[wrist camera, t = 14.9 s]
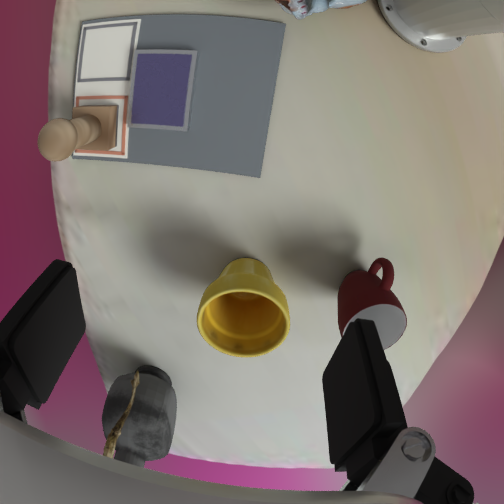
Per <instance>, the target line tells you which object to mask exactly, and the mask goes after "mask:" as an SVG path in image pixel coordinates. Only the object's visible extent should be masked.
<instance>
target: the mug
mask: <svg viewBox="0 0 504 504" xmlns="http://www.w3.org/2000/svg"><path fill="white" fill-rule="evenodd" d="M381 267H382V268H383V277H382V280H381V279H380V278H379V277H378V276H377V275H376V274H377V272H378V270H379V269H380V268H381ZM393 280H394V269H393V265H392V263H391V262H390V261H389V260H388V259H385V258H378V259H376V260H375V261H374V262H373V263H372V265H371V267H370V268H369V270H368V272H367V271H362V270H357V271H353V272H351V273H349V274H348V275H347V276H346V277H345V279H344V280H343V282H342V284H341V286H340V288H339V292H338V325H339V330H340V334H341V337H343V335H344V333H345V331H346V329H347V327H348V325H349V323H350V322H354V321H355V320H356V319H357V318H360V319H368V320H373V321H374V322H375V325H376V328H377V331H378V334H379V337H380V340H381V343H382V347H383V350H385V349H387V348H389V347H390V346H392V345H393V344H394V343H396V342H397V341H398V340H399V338H400V337H401V336H402V335H403V333H404V331H405V329H406V325H407V318H406V314H405V312H404V310H403V307H402V305H401V303H400V302H399V300H398V298H397V297H396V296H395V294H394V293H393V292H392V291H391V290H390V288H391V286H392V284H393Z"/></svg>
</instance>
